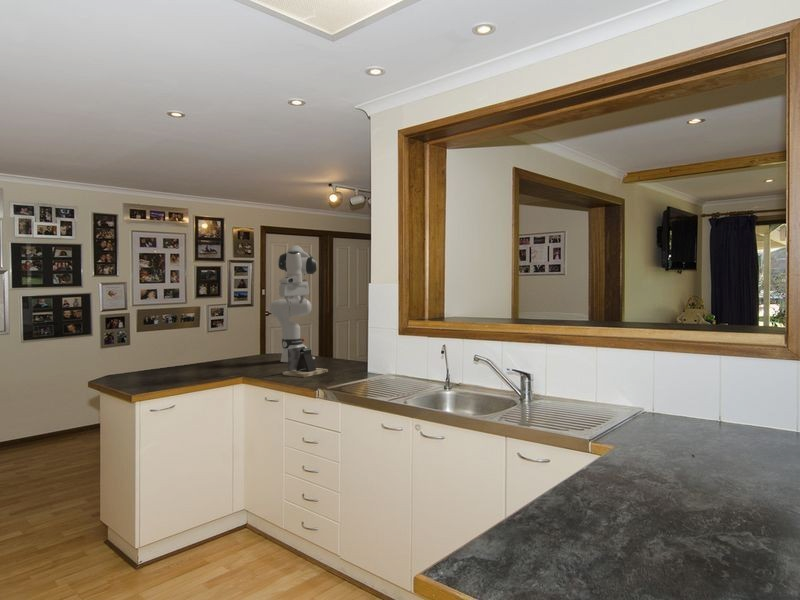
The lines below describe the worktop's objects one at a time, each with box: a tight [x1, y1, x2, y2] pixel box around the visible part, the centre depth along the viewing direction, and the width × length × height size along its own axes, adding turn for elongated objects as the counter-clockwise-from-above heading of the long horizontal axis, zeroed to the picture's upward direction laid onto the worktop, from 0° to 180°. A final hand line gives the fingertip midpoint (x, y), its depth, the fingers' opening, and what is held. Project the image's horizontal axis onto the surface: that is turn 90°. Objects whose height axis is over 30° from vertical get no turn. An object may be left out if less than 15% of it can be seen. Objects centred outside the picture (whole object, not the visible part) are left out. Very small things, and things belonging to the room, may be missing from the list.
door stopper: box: [296, 347, 317, 372], centre depth 288 cm, size 9×6×12 cm, turn 59°
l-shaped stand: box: [282, 347, 329, 378], centre depth 288 cm, size 18×16×14 cm
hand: (295, 304), depth 302 cm, fingers open, 8 cm apart
